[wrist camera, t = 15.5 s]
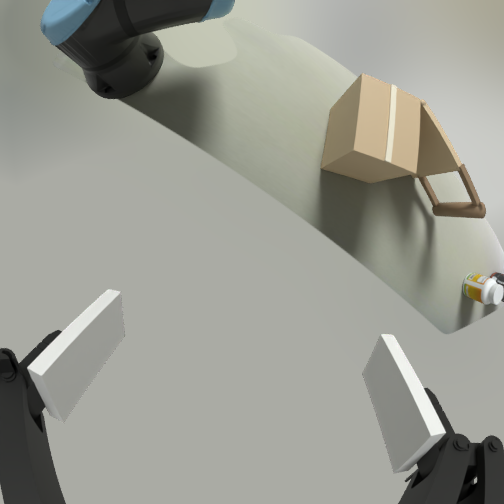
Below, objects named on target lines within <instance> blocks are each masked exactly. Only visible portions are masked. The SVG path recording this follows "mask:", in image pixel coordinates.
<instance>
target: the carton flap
mask: <svg viewBox="0 0 504 504" xmlns="http://www.w3.org/2000/svg"><path fill="white" fill-rule="evenodd" d="M453 171H458V172H459V174H460V177H461V178H462V181H463V183H464V185H465V187H466V190H467V192H468V194H469V196H470V199H471V201H472V202H451V203H439V201H438V199H437V197H436V195H435V193H434V191H433V189H432V187H431V185H430V184H429V182H428V180H427V178H426V176H429V175H435V174H441V173H447V172H453ZM411 176H412V178H419V180H420V182H421V184H422V186H423V187H424V189H425V191H426V193H427V195H428V197H429V199H430V201H431V203H432V205H433V208H432V210H433V213H434V215H435V216H448V217H467V218H484V217H485V214H486V208H485V205H484V204H483V203H482V202H480V199H479V197H478V195H477V192H476V190H475V187H474V185H473V183H472V181H471V178H470V176H469V174H468V172H467V170H466V168H465V166H464V164H462V163H461V161H460V159H459V157H458V155H457V153H456V152H455V150H454V148H453V146H452V144H451V142H450V141H449V139H448V137H447V135H446V134H445V132H444V130H443V128H442V127H441V125H440V123H439V122H438V120H437V119H436V117H435V116H434V114H433V112H432V111H431V109H430V108H429V106H428V105H427V103H426V102H425V101H424V100H423V99H422V100H420V134H419V150H418V161H417V171H416V174H412V175H411Z"/></svg>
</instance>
